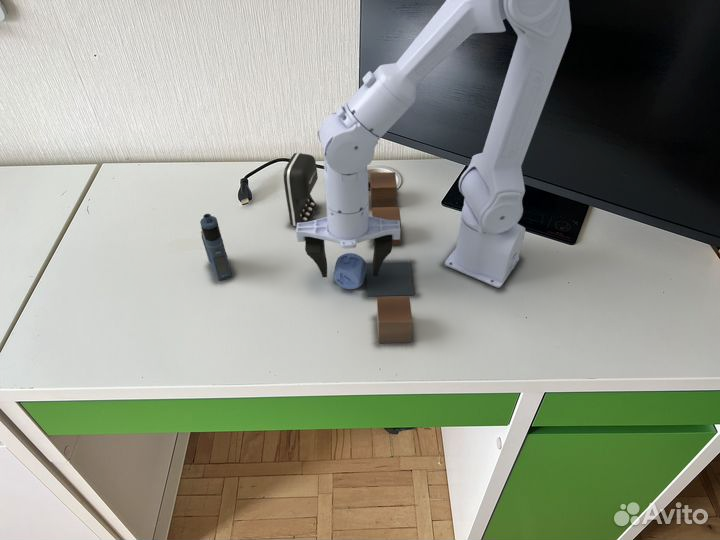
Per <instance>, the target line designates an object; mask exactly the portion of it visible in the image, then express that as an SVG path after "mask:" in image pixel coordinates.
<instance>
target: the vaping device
mask: <svg viewBox="0 0 720 540" xmlns="http://www.w3.org/2000/svg"><path fill="white" fill-rule="evenodd" d="M199 224H200V228H201V231H200V234H201V241H202V243H203V246H204V250H205V253H206V256H207V260H208V262H209V263H210V266H211V269H212V272H213V273H214V275H215V278H216V279H217V280H218V281H223V280H227V279H229V278H230V277H232V275H233V274H232V270H231V267H230V262H229V259H228V254H227V251H226V247H225V245H224V239H223V237H222V234H221V229H220V226H219V222H218V218H217V217H216V216H213V215H211V214H210V213H205V214H204V215H203V217H202V218H201V219H200V221H199Z"/></svg>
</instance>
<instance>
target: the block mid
mask: <svg viewBox="0 0 720 540" xmlns="http://www.w3.org/2000/svg"><path fill="white" fill-rule="evenodd" d="M371 217H376V218H381V219H386V220H396V221H400V239H399V240H394V239H392V246H401V241H402V240H401V238H402V219H401V210H400V206H396V207H378V208H371ZM372 246H373V247H374V239H372Z"/></svg>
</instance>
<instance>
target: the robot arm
mask: <svg viewBox="0 0 720 540" xmlns="http://www.w3.org/2000/svg"><path fill="white" fill-rule="evenodd" d="M571 19H572V18H571V10H570V0H445V1H444V2H443V3H442V5H441V7H440V8H439V9H438V10H437V12H436V13H435V14H434V15H433V16H432V18H431V19H430V20H429V21H428V22H427V23H426V24H425V26H424V27H423V29H422V30H421V31H420V33H419V34H418V35H417V36H416V37H415V39H414V40H413V41H412V43H410V45H409V46H408V48H407V49H406V50H405V51H404V53H403V54H402V55H401V56H400V57H399V59H398V60H397V61H396V62H394V63H386V64H381V65H379V66H378V67H377V68H376V70H375V71H374V72H372V71H370V70H369V71H368V72H367V73H365V74H364V76H363V77H362V82H363V84H362V85H361V86H360V87H359V89H358V90H357V91H356V92H355V93H354V94H353V95H352V96H351V98H349V99H348V101H347V102H346V103H345V104H344V105H340V106H339V107H338V108H337V109H336V111H335V112H332V113H330V114H328V115H327V116H326V117H325V118H324V119H323V121H321V123H320V126H319V130H317V132H316V133H317V138H318V140H319V142H320V144H321V147H322V151H323V169H324V171H323V180H324V193H325V195H324V196H325V205H326V206H325V208H326V216H325V217H322V218H317V219H314V220H310V221H309V222H303V223H297V226H296V229H295V233H296V242H297V243H303V242H304V244H305V246H304V249H305V253H306V255H307V256H308V257H310V258H311V259H312V261H313V263H315V264H316V266H317V268H318V269H319V271H320V274H321V277H322V278H325V279H326V278H328V261H327V254H326V248H325V246H326V245H325V241H327V242H332V243H335V244H339V245H340V248H341V249H345V250H346V249H355V248H356V247H357V244H359V243H362V242H366V241H367V242H368V241H370V240H373V239H374V246H373V256H372V263H373V276H378V272H379V269H380V267H381V265H382V263H384V261H385V260H386V258H387V257H388V256H389V255H390V254H391V253H392V250H393V245H392V239H394V240H399V239H400V221H396V220H386V219H381V218H376V217H372V215H369V169H368V166H369V165H370V164H371V163H372V161H373V160H374V156H375V148H376V146H377V145H378V144H379V141H380V139H381V138H382V137H383V136H384V135H385V134H386V133H387V132H388V131H389V130H390V129H391V128H392V127H393V126H394V125H395V124H396V122H397V121H398V120H399V119H401V118H402V116H403V115H404V114H405V113H406V112H407V111H408V110H409V109H410V108H411V107H412V106H413V105H414V104H415V103H416V99H417V88H418V85H419V84H420V83H421V82H423V81H424V80H425V78H426V77H427V76H428V75H430V74H431V73H432V72H433V71H434V70H435V69H436V68H437V67H438V66H439V65H440V64H441V63H442V62H443V61H444V60H446V58H447V57H449V55H451V54H452V53H453V52H454V51H456V50H457V48H458V47H459V46H460V45H462V43H463V42H464V41H466V40H467V39H468V38H469V37H470V36H471V35H473V34H487V33H488V34H490V33H491V34H493V33H504V32H506V31H507V29H506V26H505V23H504V20H507V21H508V23H509V24H510V26H511V27H512V29H513V31H514V32H515V34H516V35H517V40H516V43H515V46H514V49H513V52H512V57H511V58H510V61H509V62H510V63H509V65H508V69H507V73H506V74H505V79H504V82H503V84H502V85H503V86H502V88H501V92H500V95H499V99H498V102H497V105H496V109H495V110H494V114H493V117H492V121H491V123H490V127H489V131H488V133H487V137H486V139H485V142H484V143H485V144H484V146H483V149H482V152H479V153H477V154H474V155H473V156H471V160H470V163H469V165H468V167H467V168H466V170H464V171H463V173H462V174H461V176H460V177H459V180H458V189H459V192H460V194H461V195H462V196H463V197H464V198H463V206H462V208H461V215H460V221H459V227H458V233H457V241H456V246H455V249H454V250H453V251H452V252H451V253H450V255H449V256H448V257H447V258H446V260H445V261H444V266H445V267H448V268H450V269H453V270H455V271H457V272H460V273H462V274H464V275H467V276H469V277H472V278H473V279H476V280H479V281H481V282H483V283H485V284H488V285H490V286H492V287H495V288H498V289H499V288H502V286H503V285H504V283H505V282H506V280H507V279H508V277H509V275H510V274H511V273H512V271H513V270H514V269H515V267H516V265H517V263H518V262H519V260H520V254H521V251H522V247H523V242H524V240H525V235H526V227H524V226H523V225H521V224H519V223H518V222H520V220H521V218H522V217H523V213H524V206H523V198H524V196H525V194H526V193H525V192H526V188H525V187H526V186H525V182H524V177H523V176H524V175H523V171H522V170H523V169H522V165H523V163H524V160H525V157H526V154H527V152H528V149H529V147H530V144H531V141H532V139H533V136H534V133H535V130H536V128H537V126H538V123H539V120H540V117H541V115H542V112H543V109H544V106H545V104H546V102H547V99H548V95H549V93H550V90H551V87H552V85H553V82H554V80H555V77H556V75H557V71H558V70H559V69H558V68H559V66H560V63H561V60H562V58H563V56H564V54H565V50H566V48H567V45H568V42H569V40H570V36H571V33H572V20H571Z"/></svg>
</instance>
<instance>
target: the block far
mask: <svg viewBox="0 0 720 540" xmlns="http://www.w3.org/2000/svg"><path fill="white" fill-rule="evenodd" d="M369 179H370V180H369V198H370V208H371V209H372V208H378V207H397V198H398V195H397V194H398V183H397V175H396V172H395V171H392V172H391V171H390V172H388V171H387V172H370V173H369Z"/></svg>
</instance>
